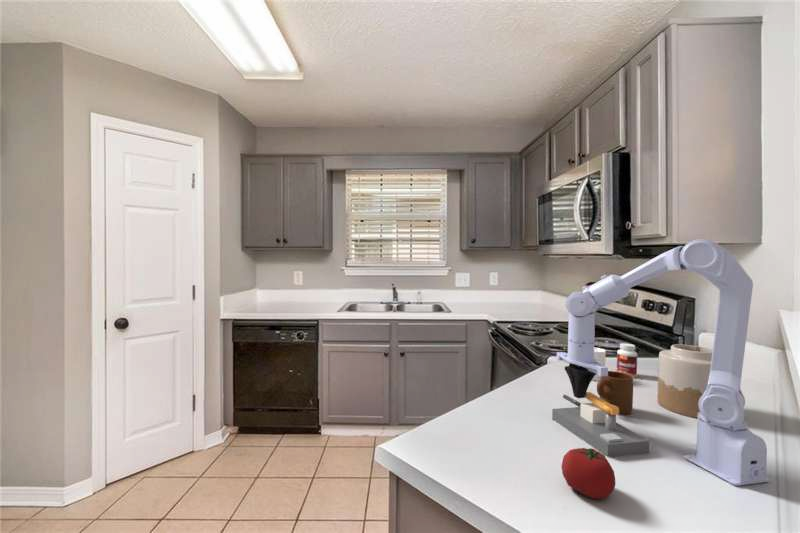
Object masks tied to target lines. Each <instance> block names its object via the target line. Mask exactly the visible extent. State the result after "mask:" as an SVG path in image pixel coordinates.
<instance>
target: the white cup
mask: <svg viewBox="0 0 800 533" xmlns="http://www.w3.org/2000/svg"><path fill="white" fill-rule="evenodd" d="M606 354H607V351H606V349H605V348H601V347H600V348H599V347H595V346H594V359H596V362H598V363H600V364H601V365H603V366H605V367H606ZM600 379H601V376H598V374H596V375H595V376H594V377H593V379H592V380H591V381H593V382H595V381H596V382H598V381H599V380H600Z"/></svg>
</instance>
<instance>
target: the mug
mask: <svg viewBox="0 0 800 533" xmlns="http://www.w3.org/2000/svg"><path fill="white" fill-rule="evenodd" d="M596 393H597V395H598V397H599V398H601V399H603V400H605V401H606V402H608V403H610V404H612V405H615V406H617V407H618V409H619V415H623V416H624V415H625V416H627V415H630V414H632V413H633V408H634V406H633V405H634V404H633V403H634V378H633V377H632V376H630V375H628V374H625V373H621V372H616V371H613V370H608V376H601V379H600V380H599V381H597V384H596Z"/></svg>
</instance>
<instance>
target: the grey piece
mask: <svg viewBox="0 0 800 533" xmlns="http://www.w3.org/2000/svg"><path fill="white" fill-rule="evenodd" d="M580 412H581V410H580V407H578V406H577V407H576V406H575V407H561V408H560V407H558V408H552V413H551V416H552V417H551V419H552V420H553V421H555V422H556V423H558V424H559V425H560V426H562V427H564V428H565V429H566V430H568V431H569V432H570V433H572V434H574V435H575V436H577V437H578V438H580V439H581V440H583V441H584V442H585V443H587V444H589V445H590V446H591V447H593V449H595V450H596V451H598V452H600V453H601V454H603V455H604V456H605V457H606V458H611V457H619V456H620V457H621V456H629V455H639V454H640V455H641V454H649V453H650V440H649V439H647V438H646V437H644V436H642V435H640V434H639V433H637V432H634V431H632V430H631V429H629V428H628V427H626V426H624V425H622V424H619V423H618V422H617V415H612V414H609V413H606V417H605V423H591V422H589V421H588V420H586V419H584V418H583V417H581V416H580Z"/></svg>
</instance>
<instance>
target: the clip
mask: <svg viewBox="0 0 800 533" xmlns="http://www.w3.org/2000/svg"><path fill="white" fill-rule="evenodd" d="M585 399H586V400H588V401H590V403H594V404H596V405H597V406H599V407H601V408H602V409H604V412H606V413H609V414H612V415H616V416H617V415H620V414H619V409H618V407H617V406H615V405H612V404H610V403H608V402H606V401H605V400H603V399H601V398H600V396H599V395H598V396H597V395H596V394H594V393H593V392H591V391H587V392H586V395H585Z"/></svg>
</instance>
